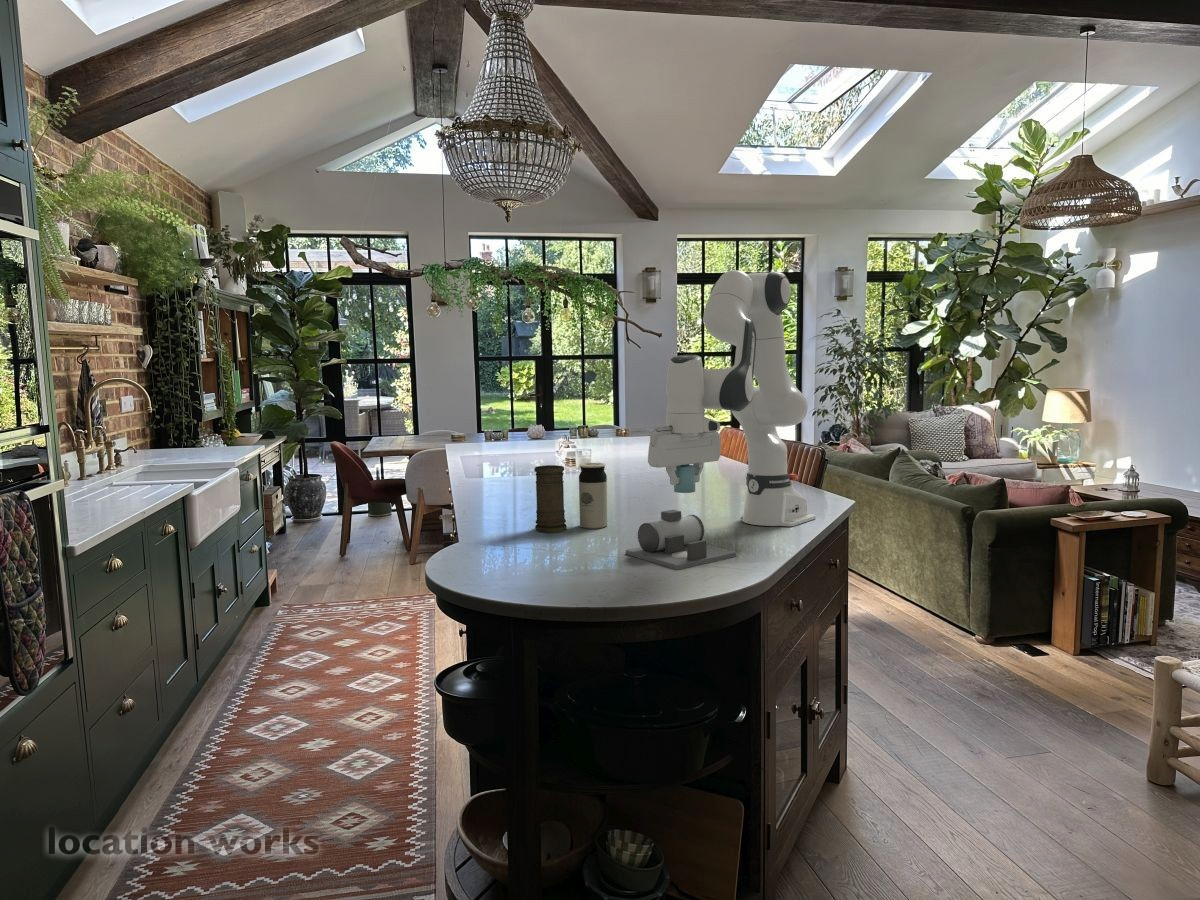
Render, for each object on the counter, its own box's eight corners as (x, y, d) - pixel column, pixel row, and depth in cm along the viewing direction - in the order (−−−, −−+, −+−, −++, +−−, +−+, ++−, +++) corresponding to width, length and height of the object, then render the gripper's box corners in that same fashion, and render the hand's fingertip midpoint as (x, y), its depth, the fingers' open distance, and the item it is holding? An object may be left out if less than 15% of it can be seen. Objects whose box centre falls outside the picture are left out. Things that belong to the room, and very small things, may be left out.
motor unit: (683, 542, 205) (683, 504, 204) (736, 556, 190) (736, 515, 189) (625, 553, 194) (625, 513, 193) (677, 569, 179) (677, 526, 177)
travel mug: (594, 522, 232) (592, 461, 230) (613, 525, 227) (612, 463, 225) (574, 526, 227) (572, 464, 225) (593, 530, 221) (592, 466, 219)
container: (562, 533, 218) (561, 469, 215) (531, 532, 219) (529, 468, 217) (570, 526, 226) (568, 464, 224) (540, 526, 228) (538, 464, 226)
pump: (699, 491, 185) (699, 459, 184) (683, 493, 182) (683, 461, 181) (685, 488, 189) (685, 457, 188) (669, 491, 186) (669, 459, 185)
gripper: (659, 428, 175) (660, 489, 177) (725, 423, 187) (725, 480, 189) (641, 426, 180) (642, 486, 182) (706, 421, 192) (706, 477, 194)
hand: (684, 483), depth 185 cm, fingers closed on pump, 5 cm apart
